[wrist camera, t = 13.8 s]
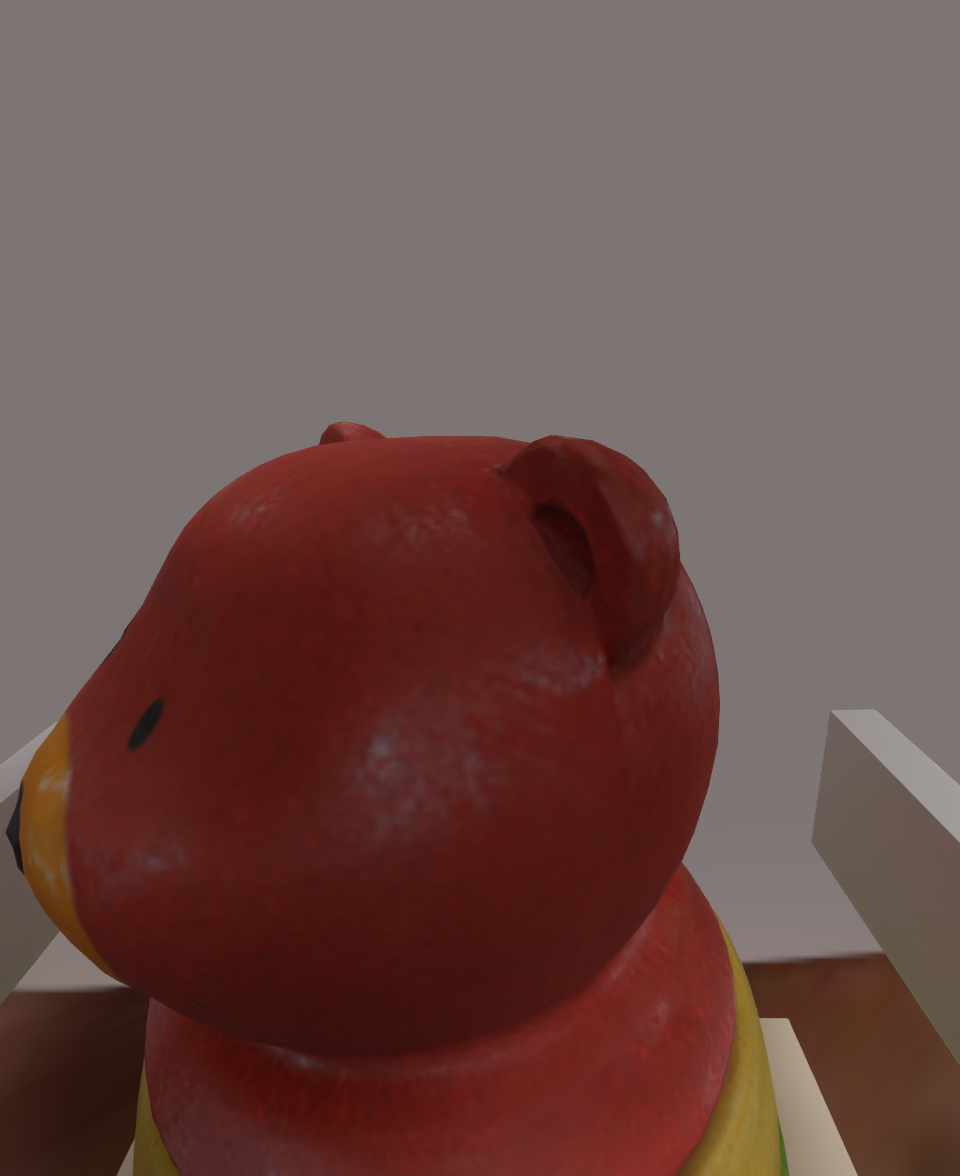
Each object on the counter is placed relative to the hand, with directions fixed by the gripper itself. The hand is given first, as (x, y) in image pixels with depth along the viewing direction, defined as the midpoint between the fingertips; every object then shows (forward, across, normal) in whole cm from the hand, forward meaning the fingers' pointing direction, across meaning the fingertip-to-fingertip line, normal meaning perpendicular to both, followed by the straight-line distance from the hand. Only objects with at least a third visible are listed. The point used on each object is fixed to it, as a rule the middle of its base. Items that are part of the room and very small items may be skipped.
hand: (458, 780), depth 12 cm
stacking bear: (-3, 0, -12) cm, 12 cm away
